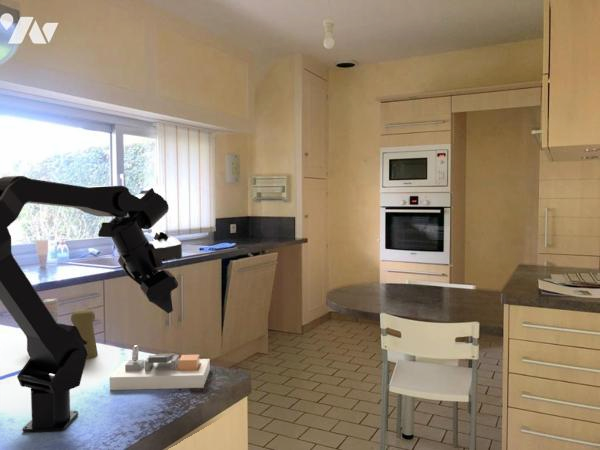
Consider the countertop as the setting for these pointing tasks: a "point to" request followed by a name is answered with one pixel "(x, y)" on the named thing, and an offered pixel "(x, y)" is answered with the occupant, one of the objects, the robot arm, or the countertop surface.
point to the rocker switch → (161, 358)
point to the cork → (86, 329)
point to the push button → (189, 363)
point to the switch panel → (158, 375)
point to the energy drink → (52, 306)
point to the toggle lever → (135, 353)
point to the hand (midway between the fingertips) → (162, 302)
